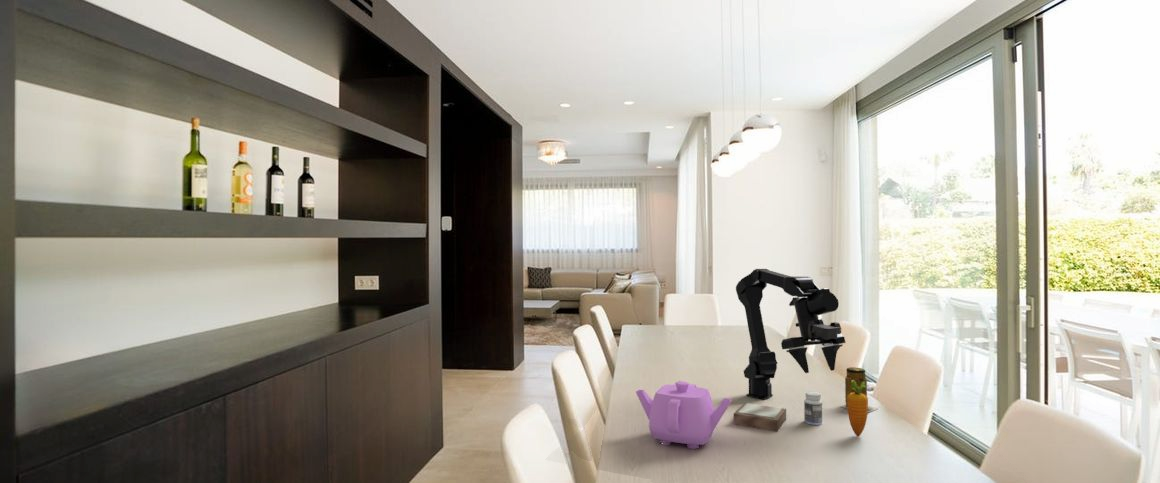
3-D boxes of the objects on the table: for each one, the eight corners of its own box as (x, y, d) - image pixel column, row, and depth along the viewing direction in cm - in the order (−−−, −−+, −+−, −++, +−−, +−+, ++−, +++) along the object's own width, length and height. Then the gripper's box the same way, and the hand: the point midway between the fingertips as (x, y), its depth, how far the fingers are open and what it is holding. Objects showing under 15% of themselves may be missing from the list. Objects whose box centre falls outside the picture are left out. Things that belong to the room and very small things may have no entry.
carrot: (866, 434, 143) (866, 378, 143) (870, 440, 138) (869, 382, 138) (846, 432, 144) (845, 376, 145) (848, 438, 140) (848, 381, 140)
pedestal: (733, 424, 152) (733, 412, 152) (744, 412, 162) (744, 401, 162) (777, 431, 146) (777, 419, 146) (786, 419, 156) (786, 407, 156)
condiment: (850, 402, 172) (849, 365, 172) (878, 408, 165) (877, 369, 166) (839, 407, 167) (839, 368, 167) (868, 413, 161) (867, 373, 161)
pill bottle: (801, 420, 155) (801, 391, 155) (816, 419, 155) (816, 390, 155) (809, 425, 150) (809, 395, 150) (825, 425, 151) (825, 395, 151)
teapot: (735, 447, 135) (734, 387, 135) (673, 458, 127) (672, 395, 128) (690, 424, 152) (689, 371, 152) (634, 433, 145) (633, 378, 145)
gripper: (800, 314, 148) (813, 372, 144) (853, 311, 154) (867, 366, 150) (775, 321, 158) (786, 375, 154) (825, 318, 164) (837, 370, 160)
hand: (819, 371), depth 154 cm, fingers open, 9 cm apart
